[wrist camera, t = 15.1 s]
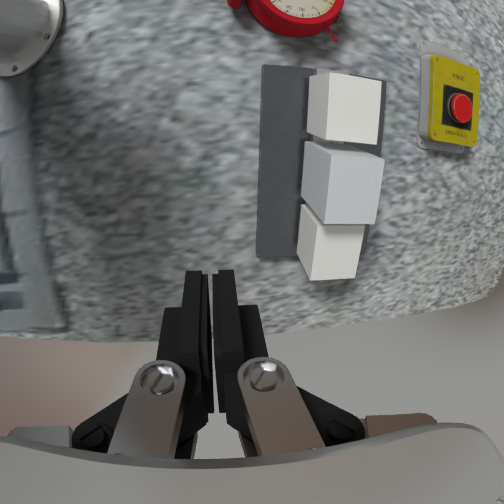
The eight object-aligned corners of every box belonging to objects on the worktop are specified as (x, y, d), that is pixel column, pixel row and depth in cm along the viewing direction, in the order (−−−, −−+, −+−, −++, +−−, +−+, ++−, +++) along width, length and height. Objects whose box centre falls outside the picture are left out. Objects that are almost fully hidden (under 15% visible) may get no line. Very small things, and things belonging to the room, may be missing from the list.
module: (304, 141, 31) (331, 154, 24) (350, 144, 31) (386, 159, 24) (300, 195, 33) (323, 223, 26) (344, 196, 34) (375, 224, 27)
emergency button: (433, 154, 31) (437, 35, 24) (413, 146, 35) (416, 38, 28) (481, 161, 32) (486, 56, 25) (461, 153, 36) (466, 56, 29)
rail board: (261, 66, 29) (265, 63, 26) (380, 81, 30) (390, 81, 28) (255, 251, 39) (258, 261, 37) (359, 248, 40) (366, 257, 38)
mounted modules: (309, 76, 27) (329, 72, 22) (354, 82, 28) (381, 81, 23) (296, 253, 37) (310, 280, 31) (336, 251, 37) (354, 278, 32)
